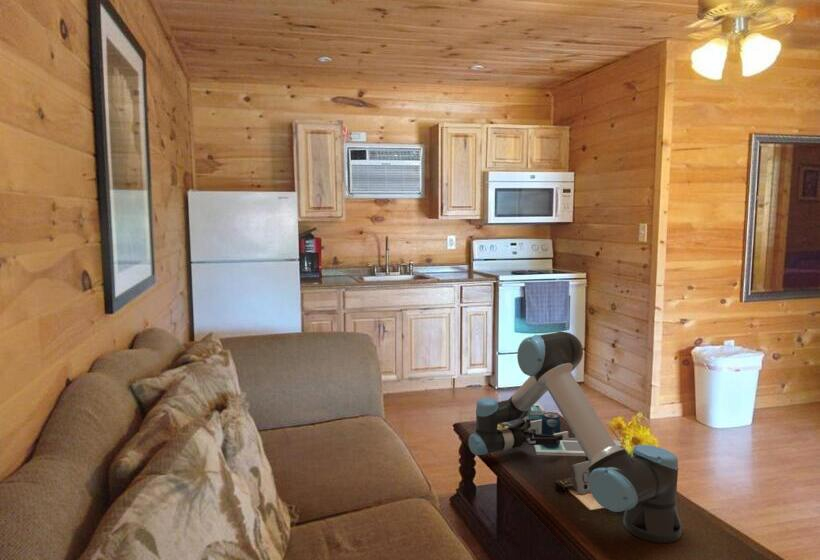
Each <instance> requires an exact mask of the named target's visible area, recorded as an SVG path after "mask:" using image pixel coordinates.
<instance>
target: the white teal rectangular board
mask: <svg viewBox="0 0 820 560" xmlns="http://www.w3.org/2000/svg"><path fill="white" fill-rule="evenodd" d="M533 448H534V450H535V454H536V455H537V456H538V455H539V456H559V457H561V456H562V457H563V456H564V457H586V454H585V453H584V451H583V449H582V448H581V446H580V444H579V442H578V441H577V439H576V437H568V439H565V440H561V441H560V444H559V446H558V447H557V448H547V447H544V446H543V445H533Z"/></svg>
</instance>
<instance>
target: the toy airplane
mask: <svg viewBox="0 0 820 560" xmlns="http://www.w3.org/2000/svg"><path fill="white" fill-rule="evenodd" d="M510 426H513V425H512V424H511V423H509V422H505V423H501V424H498V427H497V429H502V428H508V427H510Z"/></svg>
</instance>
